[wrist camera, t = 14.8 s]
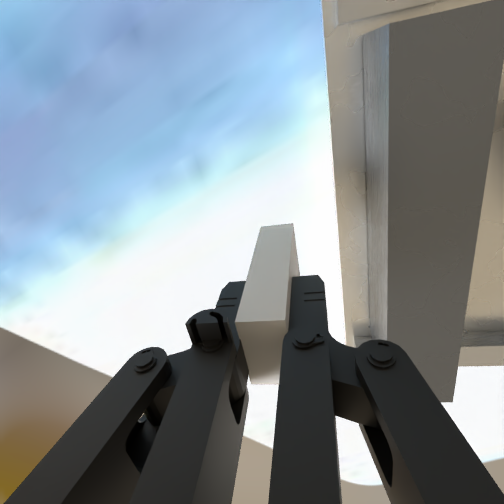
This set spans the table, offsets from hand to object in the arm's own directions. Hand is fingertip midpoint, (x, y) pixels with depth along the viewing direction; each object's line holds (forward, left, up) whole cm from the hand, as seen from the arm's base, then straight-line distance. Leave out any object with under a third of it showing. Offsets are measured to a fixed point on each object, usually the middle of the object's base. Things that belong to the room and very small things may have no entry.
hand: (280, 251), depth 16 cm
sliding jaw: (0, +6, -3) cm, 6 cm away
